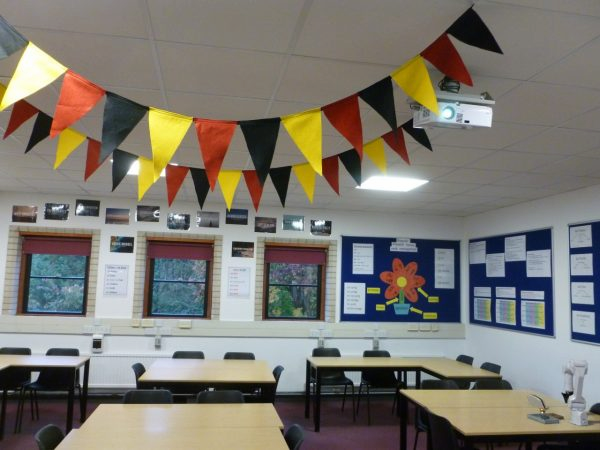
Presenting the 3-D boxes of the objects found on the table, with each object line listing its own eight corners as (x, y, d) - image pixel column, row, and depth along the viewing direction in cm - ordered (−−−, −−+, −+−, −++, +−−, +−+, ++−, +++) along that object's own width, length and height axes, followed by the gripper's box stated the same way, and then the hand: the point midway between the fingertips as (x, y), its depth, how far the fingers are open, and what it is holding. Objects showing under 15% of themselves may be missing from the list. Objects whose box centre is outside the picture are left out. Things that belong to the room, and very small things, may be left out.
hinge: (549, 409, 362) (544, 396, 362) (544, 411, 361) (539, 398, 361) (534, 404, 378) (530, 391, 379) (529, 406, 377) (525, 393, 378)
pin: (547, 420, 329) (547, 409, 330) (542, 420, 328) (542, 409, 329) (543, 418, 333) (542, 408, 334) (538, 418, 332) (538, 408, 332)
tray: (559, 423, 324) (559, 419, 324) (544, 424, 321) (544, 420, 321) (541, 416, 339) (541, 413, 340) (527, 417, 336) (527, 414, 336)
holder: (563, 419, 334) (563, 416, 334) (553, 420, 332) (553, 417, 332) (553, 415, 343) (553, 413, 343) (543, 416, 340) (543, 413, 340)
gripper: (567, 381, 350) (568, 400, 349) (557, 382, 342) (558, 402, 340) (577, 382, 345) (578, 402, 343) (568, 384, 336) (569, 404, 334)
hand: (569, 402), depth 341 cm, fingers open, 7 cm apart
